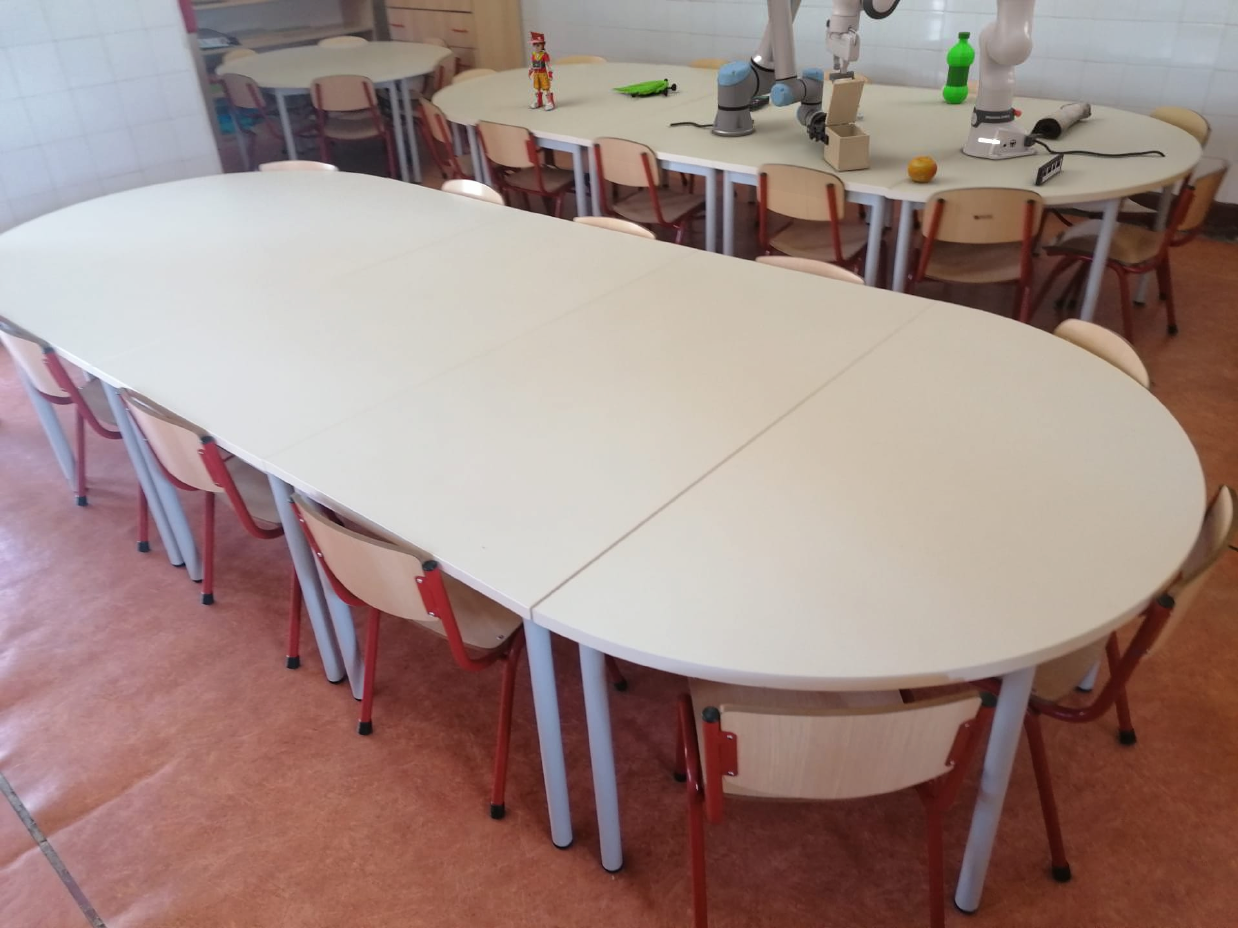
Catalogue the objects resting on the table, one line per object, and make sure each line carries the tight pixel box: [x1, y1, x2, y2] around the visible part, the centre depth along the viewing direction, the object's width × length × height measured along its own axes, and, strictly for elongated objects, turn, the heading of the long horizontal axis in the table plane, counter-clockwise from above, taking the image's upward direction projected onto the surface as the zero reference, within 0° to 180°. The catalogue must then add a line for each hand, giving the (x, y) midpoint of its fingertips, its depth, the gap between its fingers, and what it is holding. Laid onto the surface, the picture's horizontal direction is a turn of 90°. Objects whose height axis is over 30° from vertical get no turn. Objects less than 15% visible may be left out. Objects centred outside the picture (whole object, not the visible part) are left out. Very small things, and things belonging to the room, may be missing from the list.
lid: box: [825, 70, 866, 126], centre depth 292 cm, size 16×10×9 cm
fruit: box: [907, 155, 938, 183], centre depth 277 cm, size 8×8×8 cm
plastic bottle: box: [942, 31, 976, 104], centre depth 348 cm, size 10×10×25 cm
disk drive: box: [749, 95, 771, 111], centre depth 365 cm, size 10×3×15 cm
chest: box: [823, 123, 871, 172], centre depth 294 cm, size 15×10×10 cm, turn 6°
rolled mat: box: [1029, 101, 1092, 140], centre depth 316 cm, size 30×9×10 cm
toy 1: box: [527, 31, 556, 111], centre depth 374 cm, size 12×9×30 cm
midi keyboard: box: [1035, 154, 1065, 186], centre depth 273 cm, size 18×1×5 cm, turn 138°
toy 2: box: [612, 78, 677, 99], centre depth 396 cm, size 28×5×30 cm
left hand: (843, 139), depth 296 cm, fingers closed on chest, 10 cm apart
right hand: (839, 71), depth 291 cm, fingers open, 4 cm apart
